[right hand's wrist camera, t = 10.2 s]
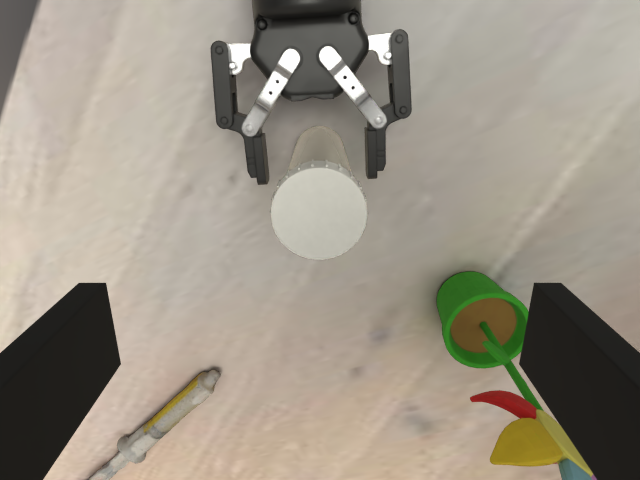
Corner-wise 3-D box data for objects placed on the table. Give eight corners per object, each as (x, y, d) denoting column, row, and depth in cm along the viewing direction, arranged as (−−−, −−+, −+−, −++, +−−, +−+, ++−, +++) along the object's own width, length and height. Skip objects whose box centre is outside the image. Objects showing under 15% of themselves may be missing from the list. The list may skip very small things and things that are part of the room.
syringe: (210, 359, 49) (204, 375, 47) (235, 380, 50) (230, 397, 48) (72, 474, 56) (59, 494, 53) (96, 491, 57) (85, 511, 54)
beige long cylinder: (312, 116, 41) (306, 153, 23) (353, 143, 42) (378, 201, 23) (286, 157, 42) (260, 224, 24) (326, 183, 43) (330, 267, 25)
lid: (304, 140, 24) (303, 146, 22) (383, 192, 25) (388, 202, 23) (255, 217, 25) (250, 228, 24) (331, 263, 26) (332, 278, 25)
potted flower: (408, 297, 47) (496, 526, 23) (465, 244, 45) (623, 437, 21) (470, 349, 49) (607, 605, 26) (527, 300, 47) (732, 531, 24)
